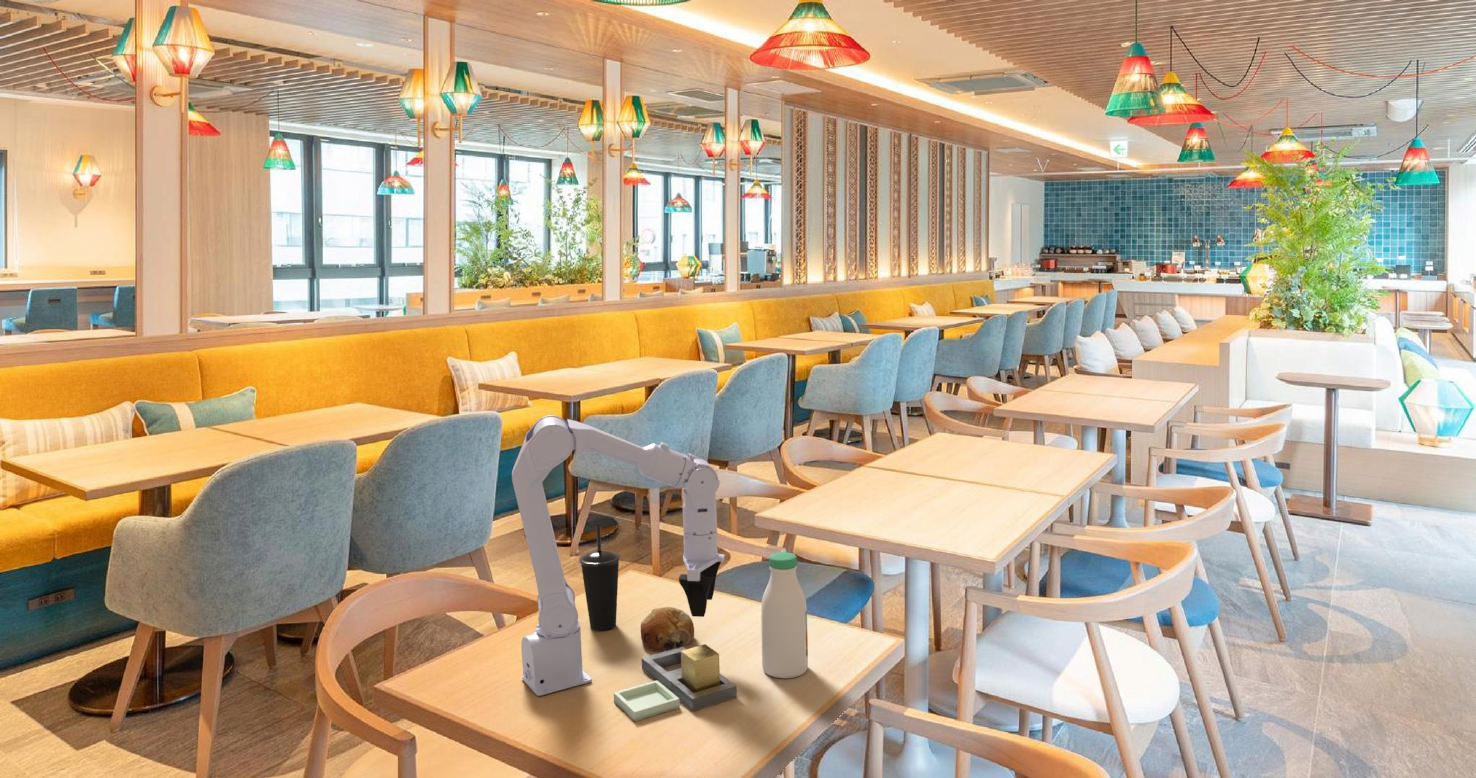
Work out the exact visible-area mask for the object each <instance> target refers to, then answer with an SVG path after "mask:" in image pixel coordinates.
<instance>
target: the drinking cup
mask: <svg viewBox="0 0 1476 778" xmlns="http://www.w3.org/2000/svg"><path fill="white" fill-rule="evenodd" d="M595 528H596V542H597V543H596V544H597V548H596V550H592V551H589V552H586V553H584V554H582V555H581V556H580V557H579V559H578V561H579V564H580V565H581V566H580V567H581V572H582V580H583V586H584V593H585V600H586V605H587V611H588V621H589V626H590V627H589V628H590V629H591V630H593V631H596V632H605V631H610V630H613V629H615V628H616V626H617V609H618V608H617V607H618V587H619V586H618V585H619V568H620V567H619V562H620V560H621V555H620V554H619V553H618V552H615V551H612V550H611V551H610V550H608V549H602V539H601V537H602V536H601V524H599V523H597V524H596V526H595Z"/></svg>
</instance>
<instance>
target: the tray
mask: <svg viewBox="0 0 1476 778" xmlns="http://www.w3.org/2000/svg"><path fill="white" fill-rule="evenodd" d="M613 702H614V703H615V704H616V705H617V706H618V707H619V708H620V709H621V710H622V711H623V712H624V713H626V714H627V715H628V717H630V718H631V719H632V720H633V721H634V722H638V721H641V720H644V719H648V718H650V717H655V716H657V715H660V714H663V713H668V712H670V711H674V710H677V709H680V708H681V707H680V705H681V704H680V702H681V701H680V699H679V698H678V697H677V696H676V695H674V694H673V693H672V692H671V691H670V690H668V689H667V688H666V687H665V686H664V685H662V684H661V683H660V682H659V681H657V680H653V681H650V682H647V683H642V684H639V685H636V686H632V687H628V688H624V689H621V690H618V691H615V692H613Z"/></svg>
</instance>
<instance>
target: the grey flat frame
mask: <svg viewBox="0 0 1476 778" xmlns="http://www.w3.org/2000/svg"><path fill="white" fill-rule="evenodd" d="M686 649H687V648H686V647H680V648H676V649H672V650H669V651H660V652H659V653H654V654H651V655H647V656H643V657H641V670H643V671H644V672H645V671H646V672H647V673H646V672H645V673H646V674H648V676H650V677H651V678H652V677H653V678H652V679H653V680H654V681H656V680H657V681H659V682H660V683H661V684H662V685H664V686H665V687H666V688H667V689H668V690H670V691H671V692H672V693H673V694H674V695H676V696H677V697H678V698H679V699H680V702H681V703H682V704H683V705H685V706H686V707H687V708H688V709H690V710H691V711H692V712H695V711H699V710H701V709H704V708H707V707H711V706H714V705H717V704H720V703H724V702H727V701H731V700H734V699H736V698H738V687H737V686H738V685H737V684H735V683H734V682H732V680H729V679H728V678H727V677H726V676H725V675H723V674H722V673H720V685H719V686H715V687H712V688H709V689H706V690H702V691H699V692H696V693H693V692H692V691H691V690H689V689H688V688H687V687H686V686H684V685H683V684H682V671H681V668H677V669H674V670H673V669H672V670H670V671H669V670H668V671H667V670H665V669H664V668H667V666H668V667H670V666H674V665H679V664H681V651H682V650H686Z"/></svg>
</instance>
